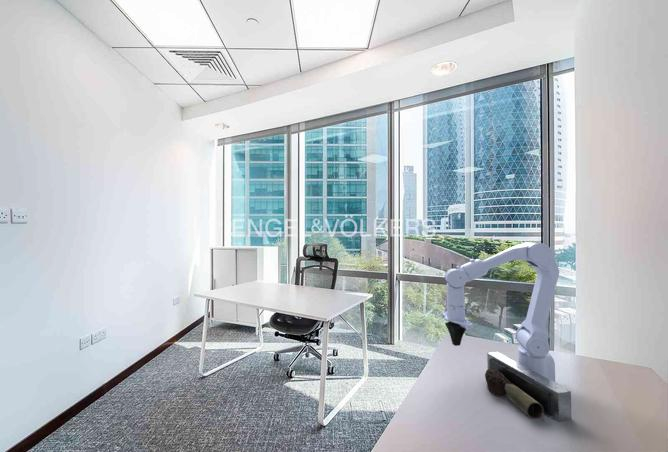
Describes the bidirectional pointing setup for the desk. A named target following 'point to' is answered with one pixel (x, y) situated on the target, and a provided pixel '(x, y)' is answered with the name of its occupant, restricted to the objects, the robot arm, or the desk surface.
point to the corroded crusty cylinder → (512, 393)
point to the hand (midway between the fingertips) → (456, 344)
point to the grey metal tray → (534, 386)
